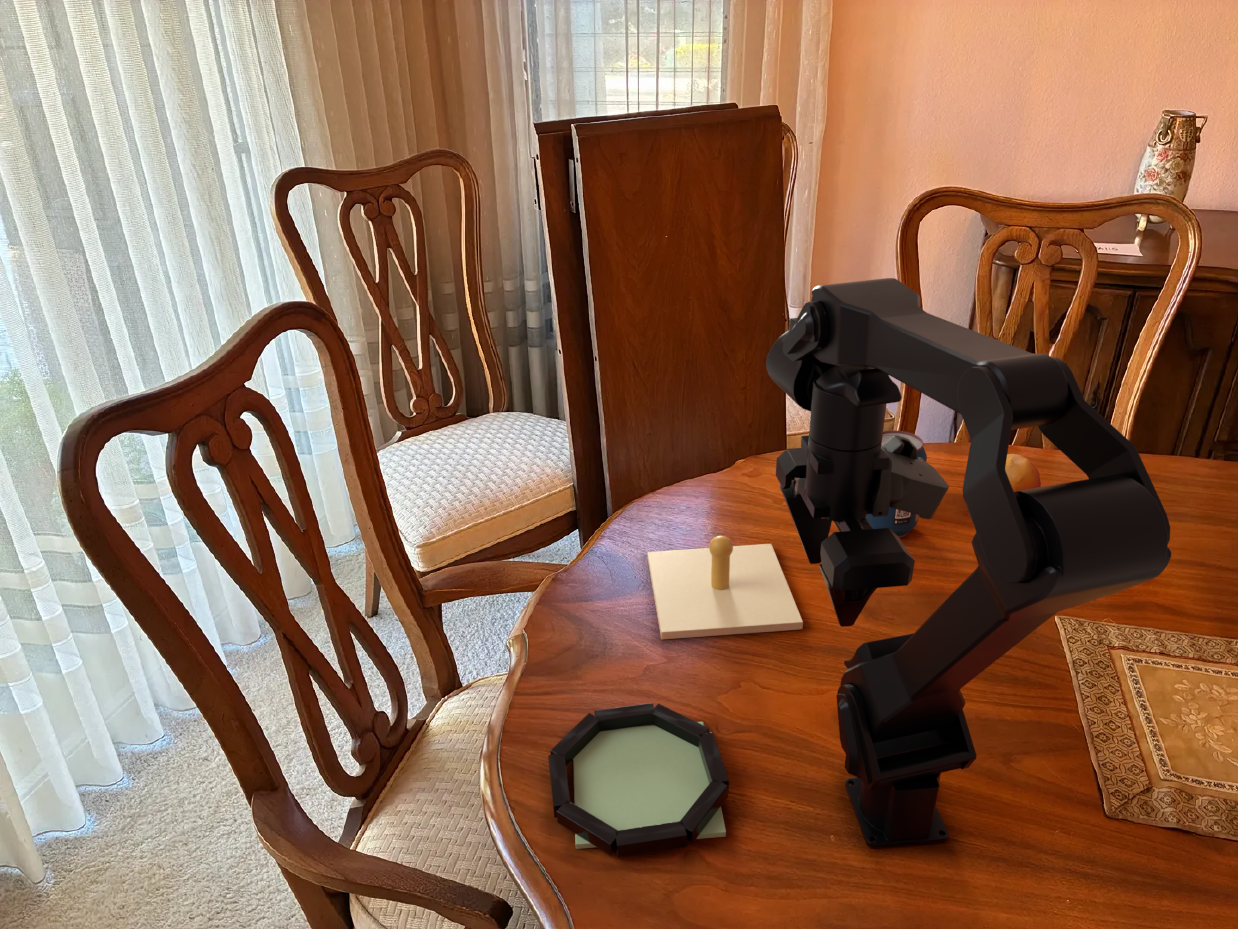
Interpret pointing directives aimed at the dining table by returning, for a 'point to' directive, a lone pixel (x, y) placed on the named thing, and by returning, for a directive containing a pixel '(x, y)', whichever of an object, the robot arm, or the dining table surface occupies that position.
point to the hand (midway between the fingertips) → (829, 592)
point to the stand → (721, 591)
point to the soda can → (896, 518)
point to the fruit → (1021, 473)
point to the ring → (646, 836)
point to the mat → (640, 780)
